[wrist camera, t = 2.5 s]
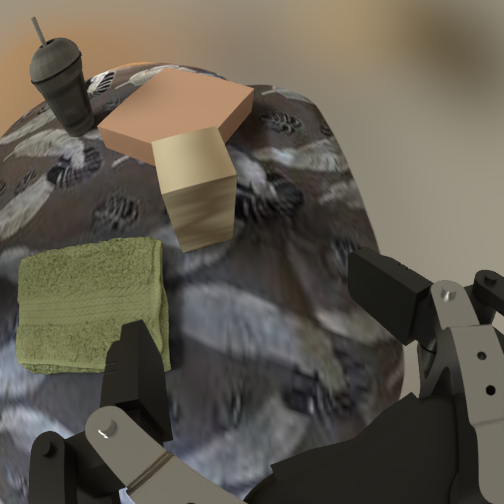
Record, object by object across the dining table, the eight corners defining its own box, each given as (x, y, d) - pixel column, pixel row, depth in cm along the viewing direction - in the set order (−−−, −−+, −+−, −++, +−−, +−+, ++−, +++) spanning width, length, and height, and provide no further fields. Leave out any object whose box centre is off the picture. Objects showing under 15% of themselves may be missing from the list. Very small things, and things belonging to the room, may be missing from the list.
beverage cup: (85, 145, 30) (34, 22, 12) (52, 142, 30) (0, 38, 12) (111, 110, 33) (80, -5, 14) (78, 110, 33) (42, 9, 14)
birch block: (182, 253, 26) (161, 194, 17) (171, 209, 27) (151, 142, 18) (232, 238, 27) (237, 174, 18) (218, 196, 28) (216, 125, 19)
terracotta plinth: (106, 147, 30) (97, 126, 26) (168, 88, 35) (165, 67, 32) (195, 183, 29) (192, 158, 25) (251, 111, 34) (254, 88, 30)
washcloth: (180, 372, 22) (173, 374, 19) (29, 373, 20) (11, 372, 17) (165, 237, 27) (159, 221, 24) (29, 258, 24) (14, 248, 21)
